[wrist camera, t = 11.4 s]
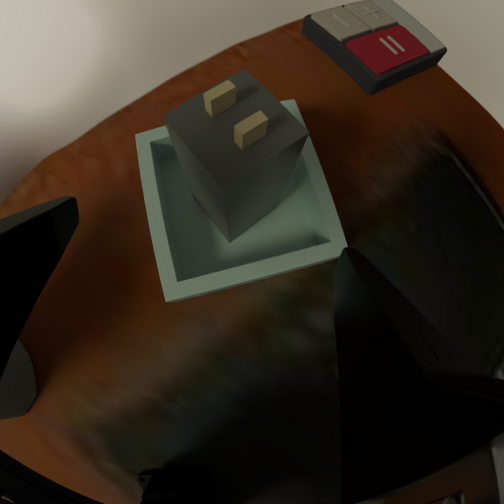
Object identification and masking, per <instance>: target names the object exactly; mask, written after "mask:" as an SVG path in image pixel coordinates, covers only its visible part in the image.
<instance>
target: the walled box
mask: <svg viewBox="0 0 504 504" xmlns="http://www.w3.org/2000/svg"><path fill="white" fill-rule="evenodd" d="M279 102H280V103H281V104H282V105H283V106H284V107H286V108H287V109H288V110H289V111H290V112H291V113H292V114H293V115H294V117H295V118H296V119H297V120H298V121H299V122H300V123H301V124H302V125H303V126H304V127H305V128H306V126H305V124H304V121H303V119H302V116H301V114H300V111H299V109H298V107H297V104H296V102H295V100H286V101H279ZM135 137H136V145H137V153H138V161H139V168H140V175H141V181H142V188H143V194H144V200H145V206H146V211H147V217H148V222H149V228H150V233H151V238H152V243H153V248H154V253H155V257H156V262H157V266H158V271H159V275H160V280H161V284H162V288H163V292H164V296H165V300H166V302H177V301H182V300H186V299H190V298H194V297H198V296H202V295H206V294H209V293H213V292H217V291H221V290H225V289H229V288H233V287H236V286H240V285H244V284H248V283H252V282H255V281H259V280H263V279H266V278H270V277H274V276H278V275H281V274H285V273H288V272H292V271H296V270H299V269H303V268H306V267H310V266H313V265H317V264H321V263H324V262H328V261H331V260H333V259H336V258H338V257H340V255H341V252H342V250H343V248H345V247H348V246H347V243H346V239H345V236H344V233H343V230H342V226H341V223H340V220H339V217H338V214H337V211H336V208H335V205H334V202H333V199H332V196H331V193H330V190H329V187H328V184H327V182H326V179H325V176H324V173H323V170H322V168H321V165H320V162H319V160H318V157H317V154H316V152H315V149H314V146H313V144H312V141H311V139H310V136H309V135H308V138H307V140H306V142H305V144H304V147H303V149H302V151H301V154H300V156H299V158H298V160H297V163H296V165H295V167H294V169H293V172H292V174H291V176H290V179H289V181H288V183H287V185H286V188H285V190H284V192H283V194H282V197H281V199H280V201H279V203H278V206H277V208H276V209H274V210H273V211H272V212H270V213H269V214H268V215H266V216H265V217H264V218H262V219H261V220H260V221H258V222H257V223H256V224H254V225H253V226H252V227H250V228H249V229H248V230H246V231H245V232H244V233H242V234H241V235H240V236H238V237H237V238H236V239H234V240H233V241H232V242H231V243H229V242H228V241H227V240H226V238H225V237H224V236H223V235H222V233H221V232H220V231H219V229H218V228H217V227H216V226H215V224H214V223H213V222H212V220H211V219H210V218H209V217H208V215H207V214H206V213H205V211H204V210H203V209H202V208H201V206H200V205H199V204H198V202H197V201H196V200H195V199H194V197H193V194H192V192H191V189H190V187H189V184H188V182H187V179H186V177H185V174H184V172H183V169H182V167H181V164H180V161H179V159H178V156H177V154H176V151H175V148H174V146H173V143H172V141H171V138H170V135H169V133H168V130H167V127H166V126H163V127H159V128H156V129H152V130H149V131H146V132H142V133H139V134H136V135H135Z"/></svg>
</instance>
